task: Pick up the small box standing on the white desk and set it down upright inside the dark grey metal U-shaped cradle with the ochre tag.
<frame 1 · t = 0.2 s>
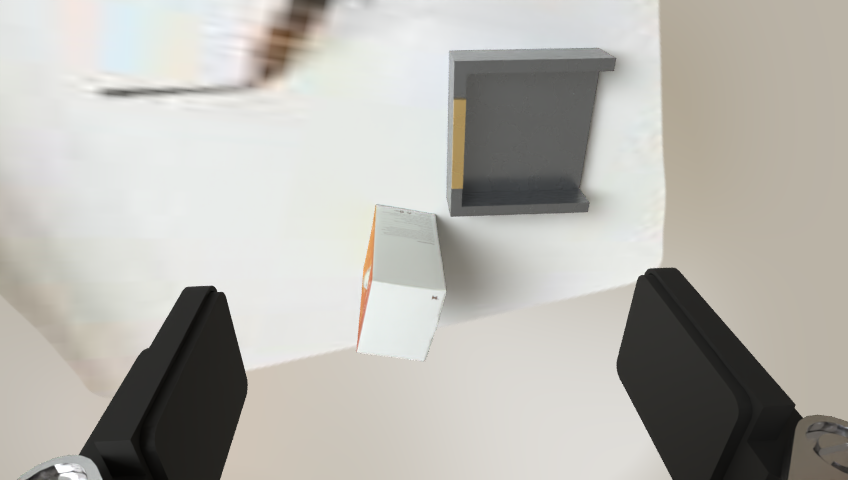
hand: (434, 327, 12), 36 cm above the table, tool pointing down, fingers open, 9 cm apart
small box: (398, 240, 53), on the table
cradle: (517, 127, 47), on the table
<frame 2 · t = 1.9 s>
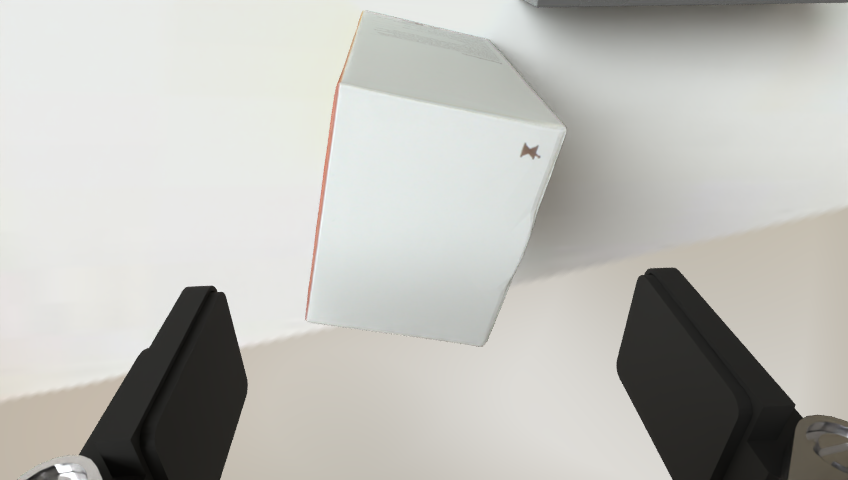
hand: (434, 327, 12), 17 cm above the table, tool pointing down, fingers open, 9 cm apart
small box: (409, 104, 26), on the table
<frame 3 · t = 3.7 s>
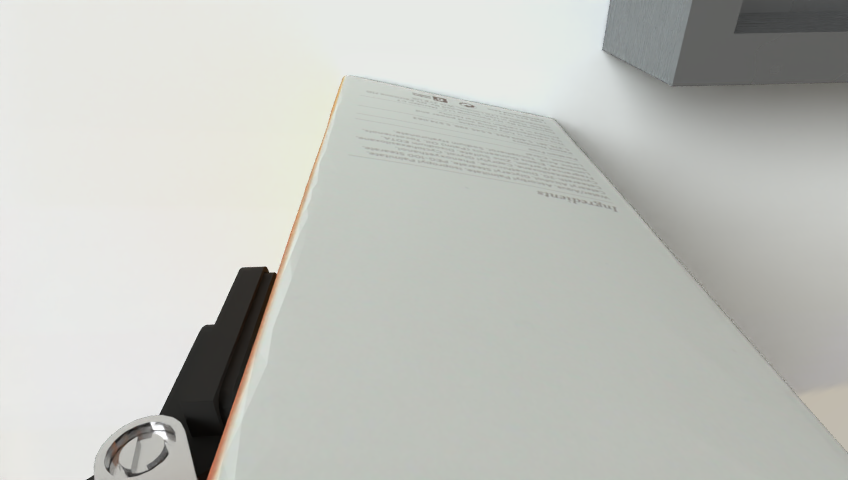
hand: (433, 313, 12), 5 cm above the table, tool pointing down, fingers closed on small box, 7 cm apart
small box: (421, 214, 16), on the table, touching gripper
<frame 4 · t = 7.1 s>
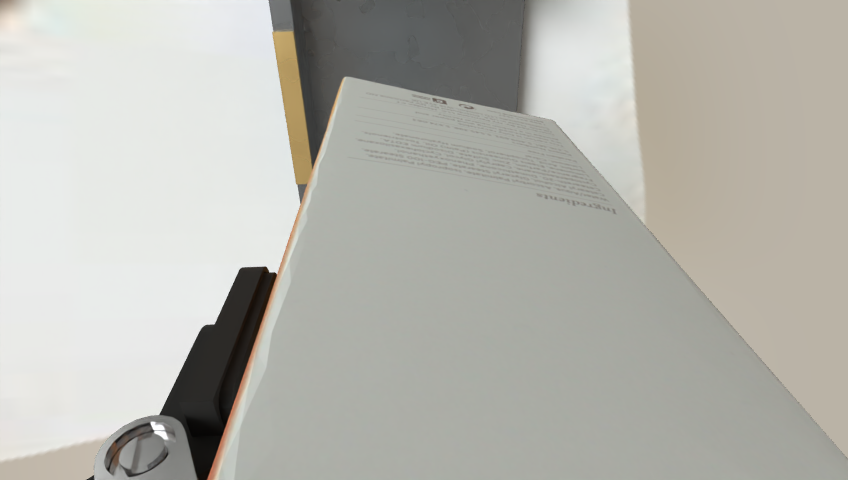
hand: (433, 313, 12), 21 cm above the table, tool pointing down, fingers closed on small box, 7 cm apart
small box: (421, 215, 16), point 16 cm above the table, touching gripper
cradle: (407, 89, 31), on the table
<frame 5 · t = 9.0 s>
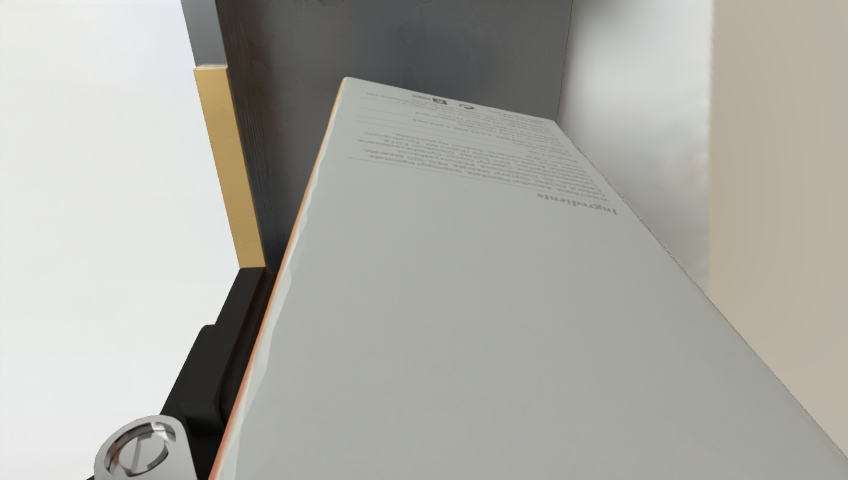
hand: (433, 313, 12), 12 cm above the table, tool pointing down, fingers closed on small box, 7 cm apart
small box: (421, 215, 16), point 7 cm above the table, touching gripper
cradle: (400, 138, 22), on the table
when the fingers open (7 cm above the table, at t = 10.5 s): small box drops 1 cm, resting on cradle.
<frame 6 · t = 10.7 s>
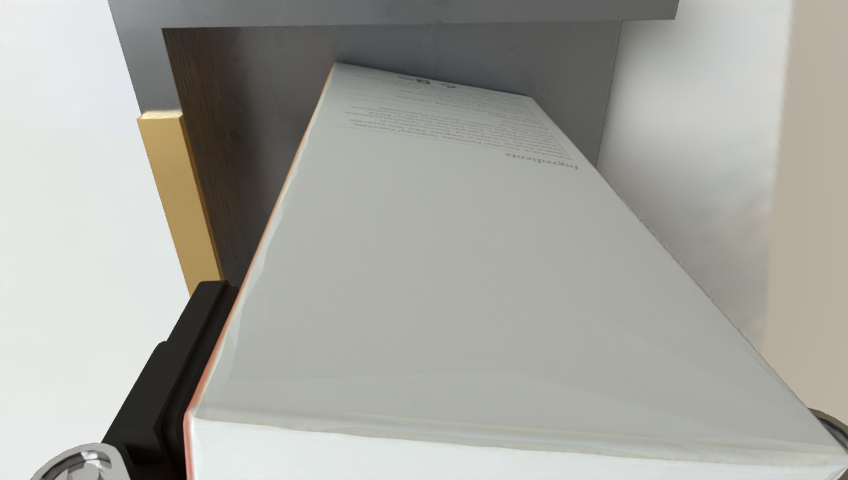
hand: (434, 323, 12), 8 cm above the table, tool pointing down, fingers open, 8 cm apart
small box: (412, 192, 18), point 1 cm above the table, touching cradle
cradle: (404, 187, 18), on the table
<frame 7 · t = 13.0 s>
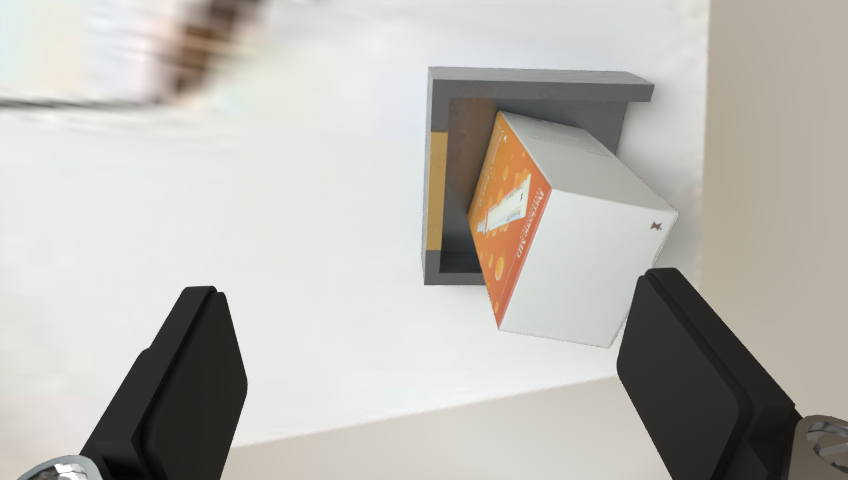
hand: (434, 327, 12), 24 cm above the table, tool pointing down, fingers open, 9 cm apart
small box: (522, 173, 35), point 1 cm above the table, touching cradle
cradle: (515, 171, 36), on the table
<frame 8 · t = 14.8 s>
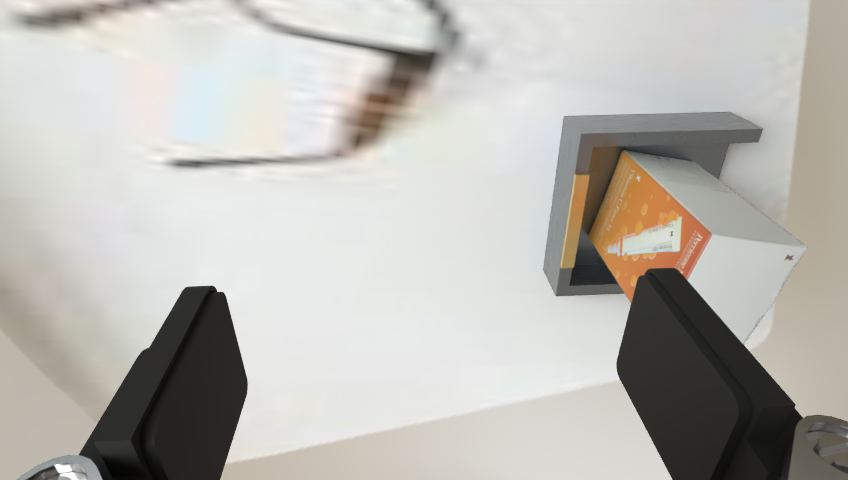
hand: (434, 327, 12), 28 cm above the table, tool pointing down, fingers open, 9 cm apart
small box: (636, 199, 42), point 1 cm above the table, touching cradle
cradle: (629, 196, 42), on the table
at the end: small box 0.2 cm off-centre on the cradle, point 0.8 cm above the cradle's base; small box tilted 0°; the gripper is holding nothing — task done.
